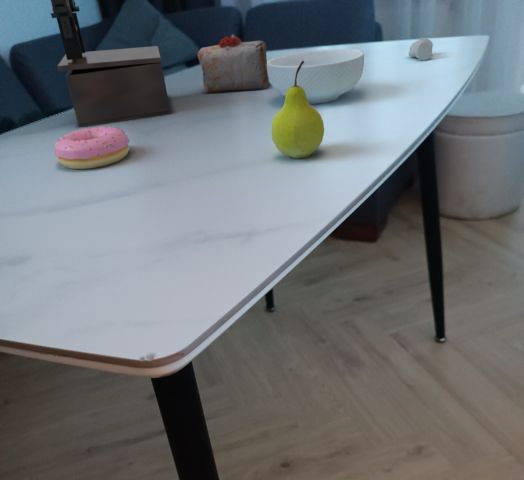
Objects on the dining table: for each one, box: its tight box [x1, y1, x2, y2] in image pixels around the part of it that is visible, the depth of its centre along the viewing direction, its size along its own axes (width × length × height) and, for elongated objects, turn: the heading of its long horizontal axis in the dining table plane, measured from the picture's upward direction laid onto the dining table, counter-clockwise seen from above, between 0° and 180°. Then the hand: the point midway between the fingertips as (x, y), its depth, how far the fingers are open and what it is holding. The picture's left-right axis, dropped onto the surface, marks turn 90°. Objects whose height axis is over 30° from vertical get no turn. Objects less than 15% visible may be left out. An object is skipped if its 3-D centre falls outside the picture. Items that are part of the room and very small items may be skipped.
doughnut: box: [53, 125, 130, 170], centre depth 88 cm, size 11×11×4 cm
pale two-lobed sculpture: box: [408, 37, 434, 62], centre depth 127 cm, size 4×8×5 cm
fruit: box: [270, 61, 325, 159], centre depth 77 cm, size 7×7×12 cm
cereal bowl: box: [267, 48, 365, 105], centre depth 105 cm, size 17×17×7 cm
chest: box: [65, 61, 172, 128], centre depth 112 cm, size 17×16×9 cm
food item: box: [197, 33, 270, 94], centre depth 118 cm, size 14×8×10 cm, turn 81°
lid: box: [56, 25, 162, 72], centre depth 107 cm, size 18×16×6 cm
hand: (76, 55), depth 107 cm, fingers closed on lid, 6 cm apart
